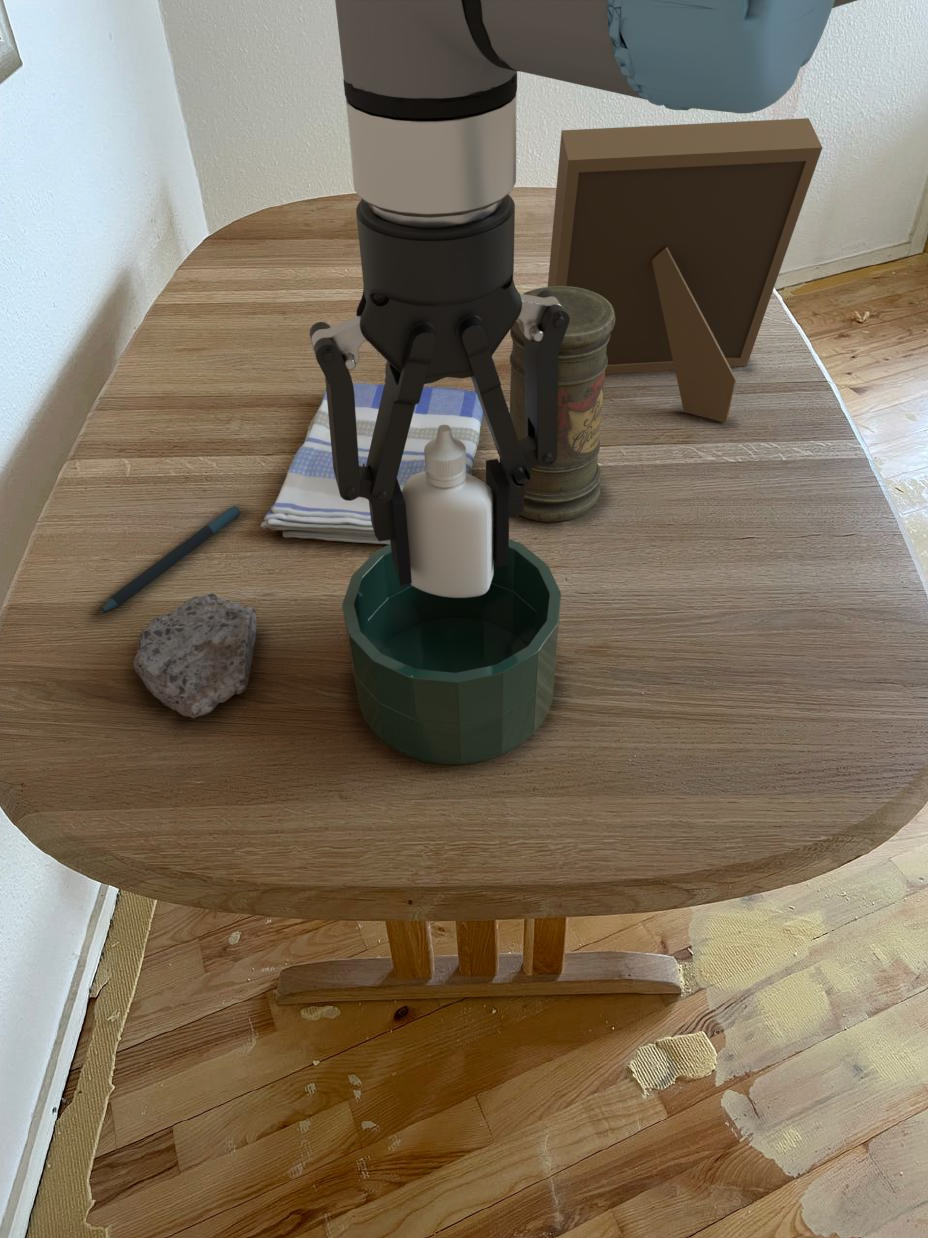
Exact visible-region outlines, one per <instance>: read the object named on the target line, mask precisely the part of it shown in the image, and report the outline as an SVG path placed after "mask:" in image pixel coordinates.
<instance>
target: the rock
mask: <svg viewBox="0 0 928 1238" xmlns="http://www.w3.org/2000/svg"><path fill="white" fill-rule="evenodd" d="M257 625H258V624H257V612H256V610H255V608H254V607H253V606H250V605H245V606H242V605H241V604H240V603H239V602H236V601H234V600H230V599H228V600H226V599H223V598H221V597H218V596H217V594H215V593H206V594H204V595H197V596H195V595H194V596H193V597H191V598H190V599H187V600H186V601H184V602H183V604H181V605H180V606H179V607H177V608H176V609H173V610H171V611H170V612H169V613H167V614H162V615H158V616H156V617H154V618H152V619H151V620H150V622H149V623H148V625H147V626H145V627H144V628H142V629H141V630H140V632H139V636H138V644H137V646H136V647H137V650H136V653H135V657H134V658H133V668H134V671H135V673H136V675H137V676H138V677H139V678H140V679H141V680H142V683H143V684H144V686H145V687H146V689H147V690H148V691H149V692H150V693H151V694H152V696H153V697H154V698H156V699H157V700H159V701H160V702H161V704H162V705H163V706H164V707H167V708H169V709H170V710H172V711H176V712H177V713H178V714H180V715H181V716H183V717H186V718H187V717H188V718H189V717H190V718H192V719H196V718H197V717H198V718H199V717H201V716H207V715H209V714H210V713H211V712H213V710H214V709H215V708H216V707H217V706H218V705H219V703H225V702H226V701H228V700H229V699H230V698H231V697H233V696H234V695H236V694H237V695H240V694H242V693H244V692H246V690H247V687H248V684H249V680H250V675H251V666H252V663H253V654H254V649H255V642H256V638H257V627H258V626H257Z"/></svg>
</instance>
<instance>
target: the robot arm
mask: <svg viewBox="0 0 928 1238" xmlns="http://www.w3.org/2000/svg"><path fill="white" fill-rule="evenodd" d="M857 1H858V0H334V4H335V11H336V12H335V13H336V20H337V21H336V22H337V30H338V39H339V46H340V47H339V48H340V57H341V65H342V73H343V74H342V76H343V81H342V82H343V89H344V96H345V105H346V106H345V107H346V116H347V127H348V137H349V149H350V159H351V170H352V182H353V188H354V189H353V190H354V192H355V193H356V195H357V196H358V197H359V198H360V201H359V202H358V203H357V206H356V209H355V210H356V211H355V215H356V224H357V233H358V234H357V235H358V243H359V244H358V245H359V253H360V263H361V273H362V283H363V286H362V287H363V290H362V294H361V299H360V300H359V302H358V305H357V307H356V312H355V313H356V315H355V316H353V317H351V318H348V319H346V320H344V321H342V322H340V323H337V324H335V325H332V326H330V324H329V323H328V322H326V321H325V322H324V321H319V322H318V321H317V322H315V323H314V324H312V325H311V327H310V329H309V333H308V334H309V338H310V340H311V344H312V348H313V351H314V356H315V359H316V361H317V363H318V365H319V367H320V369H321V371H322V373H323V375H324V381H325V389H326V393H327V404H328V415H329V426H330V437H331V448H332V460H333V470H334V474H335V478H336V482H337V485H338V489H339V493H340V496H341V497H342V498H343V499H344V500H347V501H351V500H355V499H356V498H358V497H363V498H366V499H368V500H369V508H370V516H371V523H372V526H373V530H374V533H375V536H376V538H377V539H378V541H379V542H380V541H385V540H390V542H391V552H392V559H393V563H394V566H395V569H396V573H397V576H398V579H399V583H400V585H406V584H411V583H412V578H411V566H410V554H409V541H408V529H407V517H406V504H405V500H404V497H403V494H402V491H401V488H400V485H399V482H398V479H397V475H398V471H399V467H400V464H401V460H402V456H403V452H404V448H405V444H406V440H407V436H408V432H409V428H410V424H411V420H412V417H413V413H414V409H415V405H416V404H418V403H419V401H420V398H421V394H422V390H423V387H425V385H426V384H427V385H428V384H432V383H435V382H437V381H440V380H443V379H446V378H450V379H451V378H453V379H465V378H470V379H471V382H472V384H473V387H474V391H475V392H476V393H477V396H478V399H479V401H480V404H481V407H482V410H483V415H484V418H485V420H486V424H487V427H488V430H489V432H490V435H491V438H492V441H493V444H494V446H495V449H496V453H497V454H498V456H499V459H498V458H493V459H486V460H485V483H486V484H487V485H488V486H489V487H490V488H491V489H492V493H493V505H494V561H495V564H496V566H497V567H501V566H506V565H508V551H509V539H510V518H516V517H520V516H521V514H522V512H523V510H524V494H525V487H526V486H527V485H528V484H529V483H530V482H531V480H532V476H531V474H530V472H529V470H530V469H532V468H533V467H535V466H538V465H541V466H544V467H545V466H550V465H552V464H553V463H554V462H555V461H556V460H557V440H558V352H559V349H560V347H561V344H562V341H563V338H564V336H565V333H566V330H567V328H568V325H569V321H570V318H569V315H568V313H567V312H566V310H565V309H564V307H563V306H562V304H561V303H560V302H559V300H558V299H557V297H556V296H555V295H554V293H553V292H552V291H549V290H544V291H541V292H540V293H539V294H538V295H537V296H531V295H525V294H523V293H520V292H519V291H518V289H517V287H516V285H515V281H514V270H515V227H516V226H515V222H516V221H515V220H516V219H515V218H516V204H515V201H514V199H513V197H512V196H510V194H511V192H512V191H513V189H514V187H515V185H516V183H517V97H518V96H517V92H518V72H520V73H526V74H530V75H534V76H539V77H543V78H546V79H547V78H548V79H552V80H556V81H561V82H565V83H570V84H575V85H580V86H582V87H589V88H592V89H597V90H602V91H606V92H610V93H615V94H619V95H624V96H628V97H633V98H637V99H642V100H646V101H648V102H649V103H650V104H652V105H655V106H659V107H661V106H664V107H665V109H669V110H673V111H689V110H692V109H694V110H704V111H714V112H722V113H723V112H724V113H731V114H732V113H733V114H752V113H756V112H760V111H763V110H765V109H767V108H768V107H771V106H772V105H774V104H776V103H777V102H778V101H779V100H781V98H782V97H784V96H785V95H786V94H787V93H788V92H789V91H790V90H791V88H792V87H793V86H794V84H795V82H796V80H797V78H798V75H799V72H800V70H801V68H803V67H804V66H805V65H807V64H808V63H809V62H810V60H811V58H812V57H813V55H814V54H815V51H816V49H817V48H818V46H819V43H820V41H821V39H822V36H823V33H824V31H825V29H826V26H827V24H828V22H829V18H830V16H831V13H832V11H833V9H835V8H838V7H842V6H844V5H847V4H850V3H854V2H857ZM517 319H519V327H520V329H521V331H522V332H523V334H524V362H525V414H526V437H525V438H523V439H521V440H518V437H517V434H516V431H515V428H514V425H513V422H512V419H511V416H510V409H509V407H508V404H507V401H506V397H505V395H504V391H503V389H502V383H501V379H500V376H499V374H498V371H497V367H496V365H495V362H494V359H493V355H494V353H495V352H496V351H497V350H498V348H499V347H500V345H501V343H502V342H503V341H504V339H505V338H506V337H507V335H508V333H510V329H511V328H512V326H513V325H514V323H515V322H516V320H517ZM366 341H367V342H368V343H369V344H370V345H371V346H372V347H373V348H374V349H375V351H377V352H378V353H379V354H380V356H382V357H383V358H384V359H385V360H386V363H385V368H384V369H385V371H384V374H385V378H384V384H383V385H384V388H383V393H382V397H381V401H380V406H379V410H378V415H377V419H376V424H375V428H374V432H373V437H372V441H371V446H370V450H369V454H368V459H367V463H366V467H365V464H363V466H359V458H358V443H357V427H356V412H355V396H354V387H353V383H354V381H353V378H352V375H351V373H350V371H353V370H354V369H355V368H356V367H357V366H356V365H358V364H359V362H360V353H359V352H360V348H361V345H362V344H363V343H365V342H366Z"/></svg>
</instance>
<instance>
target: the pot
mask: <svg viewBox="0 0 928 1238" xmlns="http://www.w3.org/2000/svg"><path fill="white" fill-rule="evenodd" d="M561 602H562V592H561V589H560V588H559V585H558V583H557V581H556V580H555V577H554V575H553V573H552V571H551V569H550V567H549V565H548V563H546V562H545V561H544V560H542V559H541V558H540V557H538V555H536V554H535V553H534V552H533V551H531V550H530V549H529V548H527V547H526V546H525V545H524V544H522V543H520V542H518V541H515V540H512V539H510V538H509V551H508V565H506V566H501V567H497V566H496V564H495V561H494V564H493V578H492V581H491V585H490V587H489V590H488V591H487V592H486V593H485V594H483V595H481V596H476V597H467V598H452V597H444V596H438V595H434V594H430V593H427V592H425V591H422V590H420V589H418V588H416V587H414V586H412V585H411V584H406V585H400V583H399V579H398V576H397V573H396V569H395V566H394V563H393V559H392V552H391V544H386V546H384V547H381V548H379V549H377V550H376V551H373V553H372V554H371V555H370V556H369V557H368V558H367V559H366V560H365V561H364V562H363V563H362V564H361V565H360V567H359V568H357V569H356V570H355V571H354V572H353V574H352V575H351V576H350V579H349V583H348V586H347V588H346V591H345V594H344V598H343V600H342V603H341V607H342V614H343V620H344V625H345V631H346V638H347V643H348V644H347V645H348V650H349V655H350V662H351V663H350V664H351V667H352V675H353V680H354V687H355V691H356V694H357V699H358V705H359V708H360V713H361V715H362V718H364V720H365V722H366V723H367V725H368V726H369V728H370V729H371V731H372V732H373V733H374V734H375V735H376V736H377V738H379V739H380V740H381V741H382V742H383V743H385V744H386V745H387V746H389V748H392V749H394V750H395V751H396V752H398V753H401V754H402V755H405V756H407V757H410V758H412V759H415V760H419V761H423V762H424V763H425V762H426V763H432V764H436V765H449V766H450V765H451V766H457V765H459V766H460V765H469V764H476V763H482V762H486V761H488V760H493V759H496V758H498V757H500V756H503V755H505V754H507V753H509V752H511V751H513V750H515V749H516V748H518V747H519V746H521V745H522V744H524V742H526V741H527V740H529V738H531V737H532V735H534V734H535V733H536V732H537V730H538V729H539V727H540V726H541V725H542V724H543V723H544V721H545V719H546V717H547V716H548V714H549V711H550V708H552V707H551V706H552V705H553V699H554V689H555V679H556V666H557V654H558V641H559V627H560V617H561V615H560V614H561V604H562V603H561Z"/></svg>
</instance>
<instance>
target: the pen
mask: <svg viewBox="0 0 928 1238" xmlns="http://www.w3.org/2000/svg"><path fill="white" fill-rule="evenodd" d="M240 514H241V510H240V508H239V507H238V506H237V505H233V506H232V507H229V508H228V509H226V510H225V511H223V512H222V513H221V514H220V515H218V516H216V517H215V518H214V519H213V520H211V521H210V522H209V523H207V524H206V525H205V526H203V527H202V528H201V529H199V530H198V531H197V532H195V533H193V535H191V536H190V537H189V538H187V539H186V540H185V541H183V542H182V543H181V544H179V545H178V546H177V547H175V548H174V549H172V550H171V551H170V552H168V553H167V554H166V555H164V556H163V557H162V558H160V559H159V560H158V561H157V562H155V563H154V564H152V565H151V566H150V567H148V568H147V569H146V570H144V571H143V572H142V573H140V574H139V575H137V576H136V577H135V578H134V579H132V580H131V581H130V582H128V583H126V584H125V585H124V586H123V587H121V588H120V589H119V590H118V591H115V593H113V594H112V595H111V596H110V597H109V598H108V600H107V601H106V602H105V603H104V605H103V606H102V607H101V610H100V611H99V613H100V614H101V613H103V612H104V613H105V612H108V611H110V610H113V609H116V608H118V607H121V605H122V604H124V603H126V601H128V600H130V599H131V598H132V597H134V596H135V595H136V594H137V593H138V592H140V591H141V590H143V589H144V588H145V587H147V586H148V585H149V584H150V583H152V582H153V581H155V579H157V578H158V577H160V576H161V575H163V574H164V573H165V572H166V571H168V570H169V569H170V568H172V567H173V566H174V565H175V564H177V563H178V562H179V561H180V560H182V559H184V558H185V557H186V556H187V555H188V554H190V553H191V552H193V551H194V550H195V549H197V548H198V547H199V546H201V545H203V543H204V542H206V541H207V540H208V539H210V538H212V536H214V535H215V534H216V533H217V532H219V531H220V530H222V529H223V528H225V527H226V526H227V525H228V524H230V523H231V522H232V521H234V520H235V519H236V518H238V516H239V515H240Z"/></svg>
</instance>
